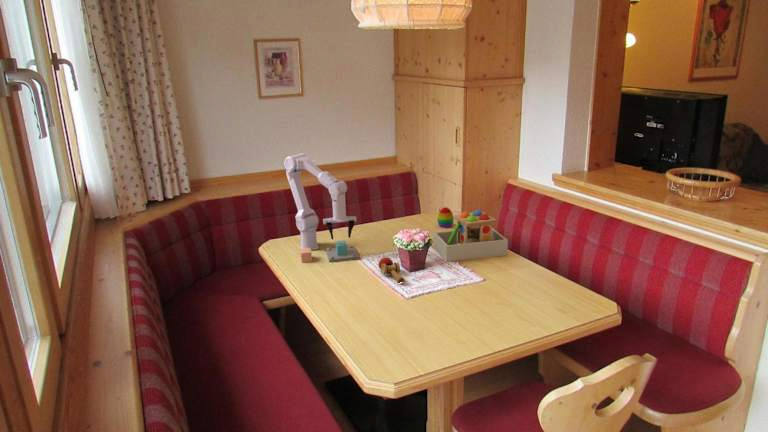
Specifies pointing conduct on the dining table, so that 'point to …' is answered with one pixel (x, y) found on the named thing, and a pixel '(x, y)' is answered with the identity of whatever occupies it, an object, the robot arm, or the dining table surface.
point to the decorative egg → (445, 218)
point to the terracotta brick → (306, 255)
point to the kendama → (390, 268)
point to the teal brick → (341, 248)
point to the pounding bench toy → (472, 219)
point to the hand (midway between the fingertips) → (340, 237)
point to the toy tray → (469, 247)
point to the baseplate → (334, 257)
